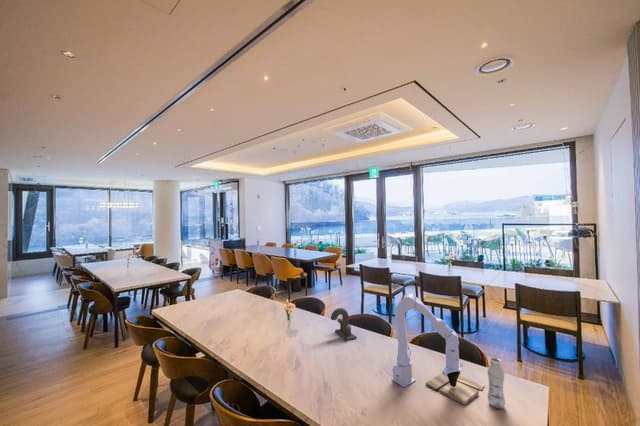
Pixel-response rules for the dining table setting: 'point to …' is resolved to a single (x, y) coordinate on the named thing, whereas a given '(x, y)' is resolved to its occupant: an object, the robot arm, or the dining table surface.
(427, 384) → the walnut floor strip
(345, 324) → the faucet
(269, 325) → the dining table surface
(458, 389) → the oak plank
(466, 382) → the plank
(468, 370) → the dining table surface
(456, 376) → the robot arm
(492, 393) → the plastic bottle
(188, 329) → the dining table surface
